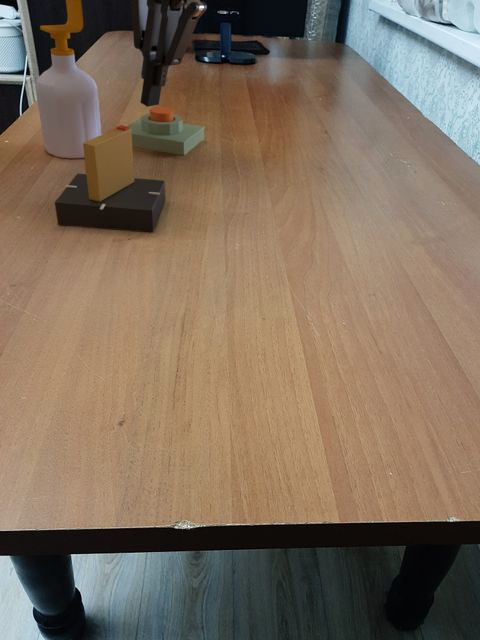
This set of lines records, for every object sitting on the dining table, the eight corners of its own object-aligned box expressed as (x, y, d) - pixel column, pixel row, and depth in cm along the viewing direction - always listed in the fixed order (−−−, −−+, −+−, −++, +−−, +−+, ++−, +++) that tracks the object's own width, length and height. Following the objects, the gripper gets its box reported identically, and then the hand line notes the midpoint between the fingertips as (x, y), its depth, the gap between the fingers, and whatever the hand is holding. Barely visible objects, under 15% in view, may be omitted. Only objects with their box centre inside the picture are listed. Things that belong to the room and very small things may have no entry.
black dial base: (54, 228, 71) (50, 204, 69) (81, 191, 81) (78, 169, 79) (152, 236, 71) (151, 212, 69) (167, 198, 81) (166, 176, 79)
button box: (118, 144, 97) (116, 120, 95) (143, 129, 105) (142, 106, 103) (183, 155, 95) (183, 131, 93) (204, 139, 103) (204, 116, 101)
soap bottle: (35, 146, 93) (6, -33, 79) (86, 138, 99) (68, -32, 84) (61, 163, 88) (34, -25, 74) (113, 153, 94) (98, -24, 79)
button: (146, 121, 97) (145, 111, 96) (155, 116, 100) (155, 105, 99) (168, 125, 96) (167, 114, 95) (177, 119, 99) (176, 109, 98)
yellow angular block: (99, 202, 71) (93, 143, 66) (88, 199, 71) (82, 140, 67) (134, 181, 77) (131, 126, 72) (124, 179, 77) (120, 124, 73)
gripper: (231, -53, 77) (195, 118, 92) (158, -86, 80) (135, 84, 95) (197, -57, 72) (165, 125, 87) (120, -92, 75) (102, 88, 90)
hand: (149, 103), depth 91 cm, fingers closed
